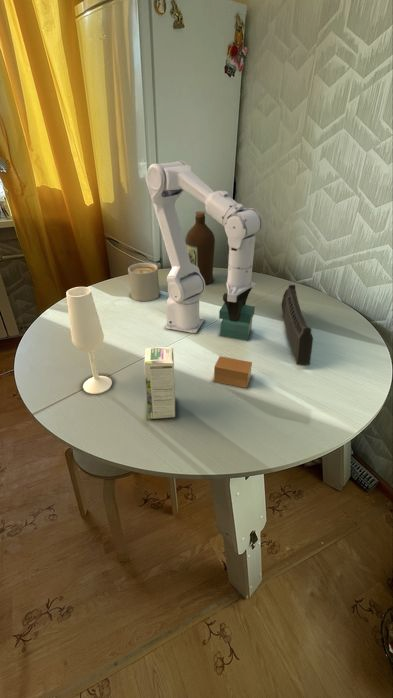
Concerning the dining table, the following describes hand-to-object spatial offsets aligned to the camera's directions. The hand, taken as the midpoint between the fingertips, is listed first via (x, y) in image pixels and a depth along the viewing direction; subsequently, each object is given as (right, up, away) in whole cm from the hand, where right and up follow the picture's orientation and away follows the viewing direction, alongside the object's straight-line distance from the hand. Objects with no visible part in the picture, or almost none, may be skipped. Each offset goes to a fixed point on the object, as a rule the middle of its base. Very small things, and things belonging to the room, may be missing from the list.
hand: (236, 315), depth 91 cm
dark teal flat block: (0, 0, 0) cm, 0 cm away
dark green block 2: (+1, -4, +13) cm, 13 cm away
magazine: (+17, -5, +11) cm, 21 cm away
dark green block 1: (+1, -2, +11) cm, 12 cm away
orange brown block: (-2, -14, -6) cm, 15 cm away
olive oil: (-9, +18, +45) cm, 49 cm away
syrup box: (-18, -22, -14) cm, 31 cm away
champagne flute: (-34, -17, -7) cm, 39 cm away
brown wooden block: (-2, -16, -5) cm, 17 cm away
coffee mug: (-29, +11, +36) cm, 47 cm away
